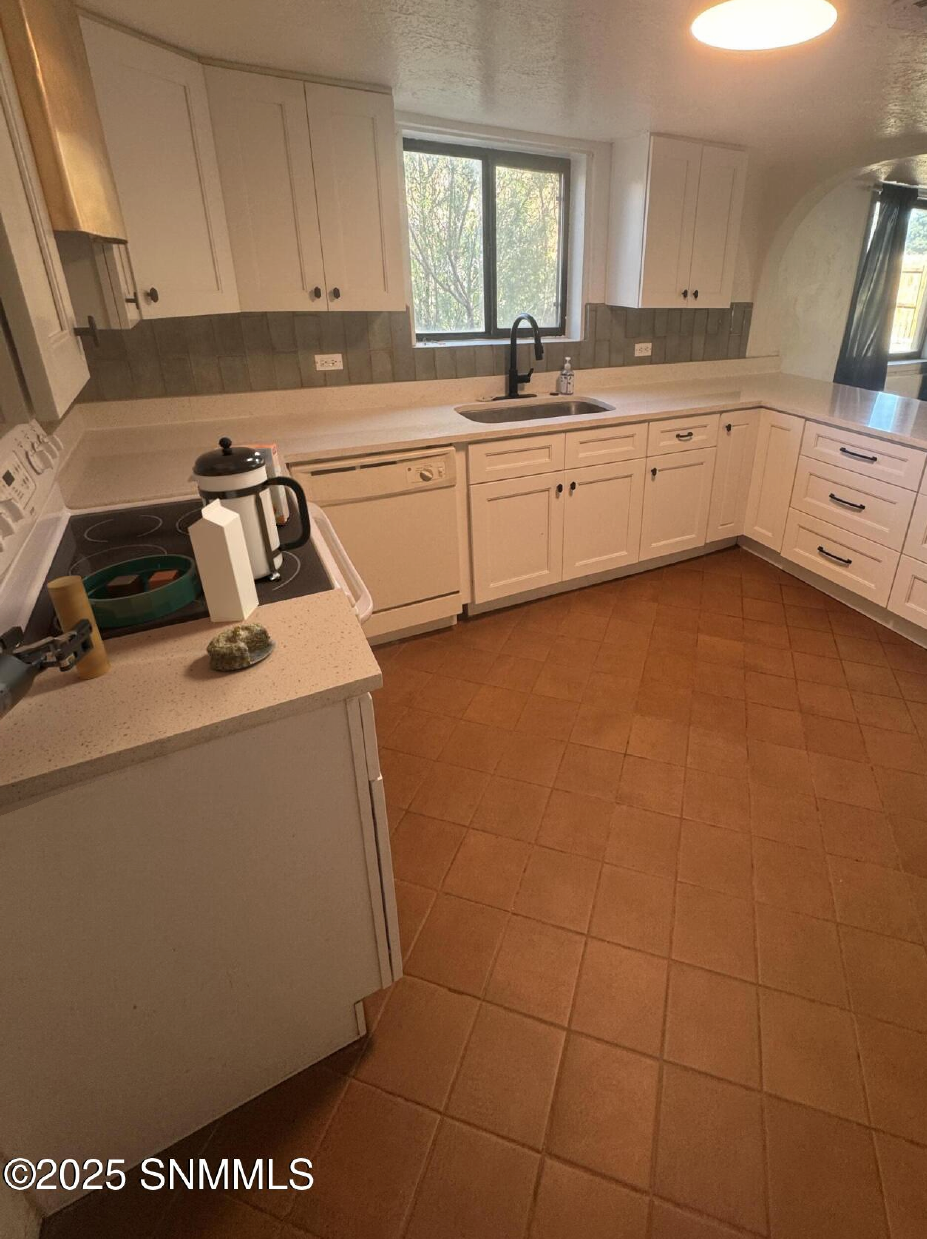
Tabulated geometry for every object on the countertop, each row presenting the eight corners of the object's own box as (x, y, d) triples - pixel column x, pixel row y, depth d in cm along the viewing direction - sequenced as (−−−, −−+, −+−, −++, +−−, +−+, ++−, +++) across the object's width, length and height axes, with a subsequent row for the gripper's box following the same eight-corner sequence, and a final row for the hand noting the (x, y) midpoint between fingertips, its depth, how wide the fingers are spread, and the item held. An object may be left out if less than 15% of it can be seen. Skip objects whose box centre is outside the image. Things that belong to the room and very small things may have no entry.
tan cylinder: (73, 681, 89) (40, 589, 84) (87, 665, 93) (56, 576, 87) (102, 677, 90) (71, 586, 85) (115, 662, 94) (86, 574, 88)
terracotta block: (153, 599, 112) (147, 581, 111) (160, 590, 116) (155, 572, 114) (176, 596, 113) (171, 578, 112) (183, 587, 117) (178, 569, 115)
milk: (259, 606, 110) (237, 497, 103) (245, 623, 104) (220, 509, 97) (227, 607, 110) (201, 498, 102) (210, 624, 104) (183, 510, 97)
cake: (197, 677, 90) (186, 648, 89) (228, 642, 100) (218, 615, 98) (260, 670, 90) (251, 640, 89) (285, 635, 100) (277, 608, 98)
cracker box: (290, 518, 154) (276, 441, 147) (285, 526, 148) (270, 447, 141) (234, 523, 151) (216, 445, 144) (226, 531, 146) (208, 451, 139)
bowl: (59, 637, 101) (48, 606, 99) (114, 585, 119) (106, 559, 117) (179, 623, 105) (171, 594, 103) (215, 575, 123) (209, 550, 121)
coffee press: (246, 601, 112) (213, 451, 102) (198, 583, 119) (162, 441, 109) (320, 566, 126) (296, 431, 116) (272, 552, 134) (247, 424, 123)
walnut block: (111, 604, 111) (105, 585, 109) (122, 594, 114) (117, 576, 113) (134, 602, 111) (128, 583, 110) (144, 592, 115) (139, 574, 113)
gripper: (30, 664, 68) (102, 598, 83) (-114, 682, 65) (-13, 611, 80) (50, 716, 71) (116, 643, 86) (-87, 735, 68) (5, 656, 83)
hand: (54, 627), depth 83 cm, fingers open, 8 cm apart
